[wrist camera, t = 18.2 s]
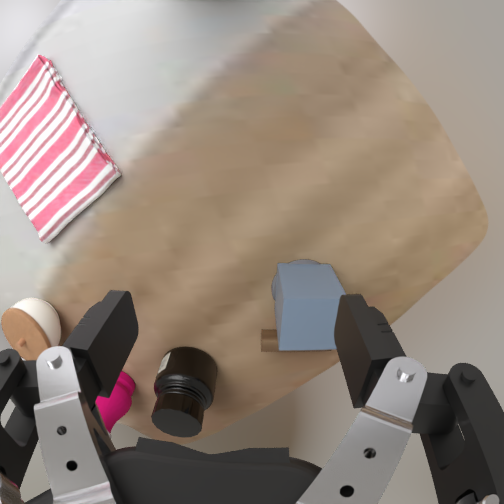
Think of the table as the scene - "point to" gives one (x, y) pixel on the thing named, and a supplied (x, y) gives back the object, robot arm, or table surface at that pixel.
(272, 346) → the strip
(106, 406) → the pepper mill
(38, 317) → the lidded jar
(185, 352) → the ink bottle
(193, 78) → the table surface
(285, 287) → the blue gray block
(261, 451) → the robot arm
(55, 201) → the dish towel
